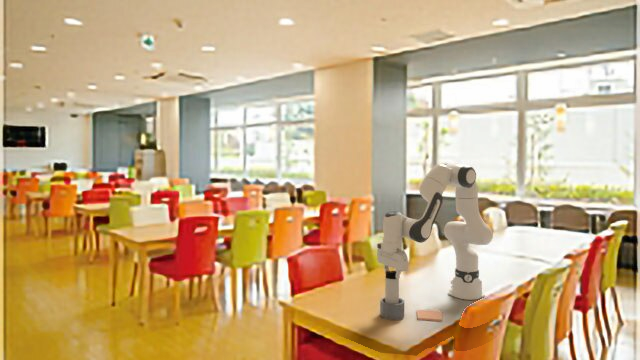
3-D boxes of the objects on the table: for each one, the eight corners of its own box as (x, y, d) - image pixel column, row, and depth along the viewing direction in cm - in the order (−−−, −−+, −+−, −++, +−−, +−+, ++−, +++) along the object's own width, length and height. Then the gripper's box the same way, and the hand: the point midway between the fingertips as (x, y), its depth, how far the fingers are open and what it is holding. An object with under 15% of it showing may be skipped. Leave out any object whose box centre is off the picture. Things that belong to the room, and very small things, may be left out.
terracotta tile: (417, 311, 220) (417, 309, 220) (441, 312, 218) (441, 311, 217) (417, 319, 209) (417, 317, 209) (442, 321, 207) (442, 319, 207)
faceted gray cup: (381, 310, 221) (381, 296, 220) (404, 312, 219) (404, 297, 218) (379, 318, 210) (379, 304, 210) (403, 320, 208) (404, 305, 207)
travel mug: (389, 315, 210) (389, 272, 209) (382, 311, 216) (383, 269, 215) (401, 314, 212) (401, 271, 211) (394, 309, 218) (395, 268, 217)
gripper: (411, 250, 204) (411, 281, 205) (385, 242, 223) (385, 270, 224) (400, 252, 201) (400, 283, 202) (374, 243, 220) (374, 271, 221)
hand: (392, 276), depth 213 cm, fingers closed on travel mug, 6 cm apart
